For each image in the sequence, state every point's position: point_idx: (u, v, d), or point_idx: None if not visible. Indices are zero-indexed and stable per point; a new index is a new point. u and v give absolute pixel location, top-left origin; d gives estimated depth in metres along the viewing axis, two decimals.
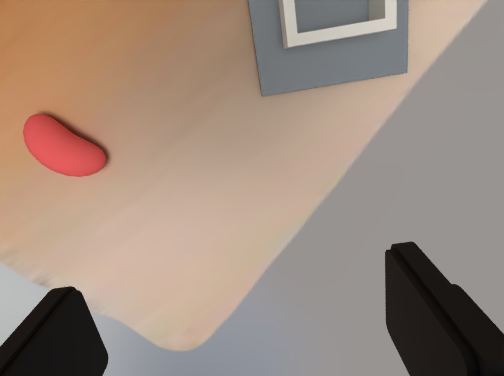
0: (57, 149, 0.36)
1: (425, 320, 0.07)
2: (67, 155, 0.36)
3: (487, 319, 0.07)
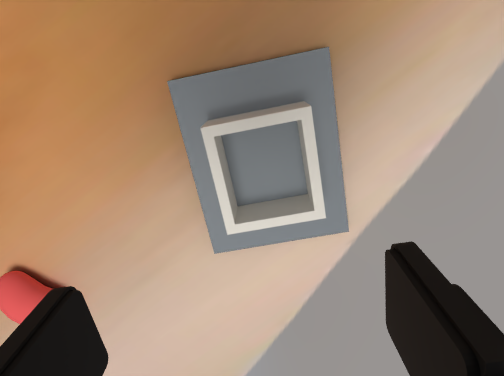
0: (25, 310, 0.38)
1: (425, 320, 0.07)
2: None
3: (487, 319, 0.07)
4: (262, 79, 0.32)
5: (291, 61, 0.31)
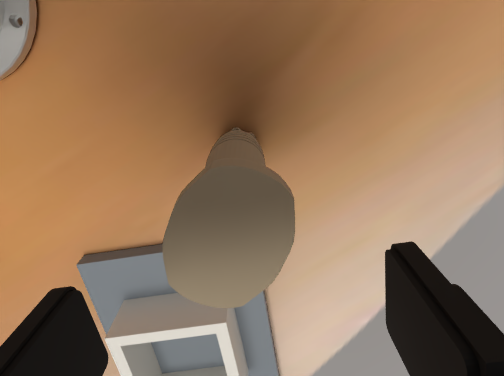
0: None
1: (425, 320, 0.07)
2: None
3: (487, 319, 0.07)
4: None
5: None
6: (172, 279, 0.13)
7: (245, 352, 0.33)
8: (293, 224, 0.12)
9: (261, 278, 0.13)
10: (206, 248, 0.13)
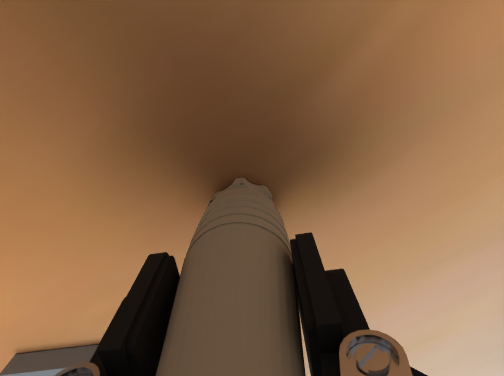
0: None
1: (300, 297, 0.08)
2: None
3: (353, 296, 0.08)
4: None
5: None
6: None
7: None
8: None
9: None
10: None
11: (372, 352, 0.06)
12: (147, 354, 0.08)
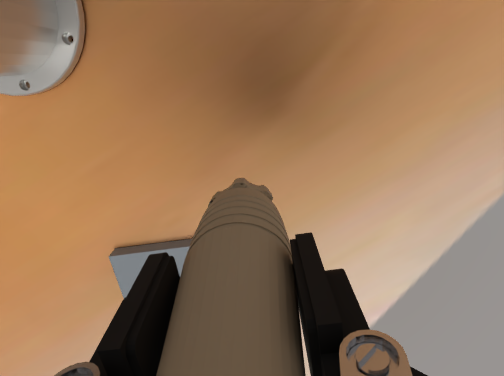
0: None
1: (300, 297, 0.08)
2: None
3: (353, 296, 0.08)
4: None
5: None
6: None
7: None
8: None
9: None
10: None
11: (372, 352, 0.06)
12: (147, 354, 0.08)
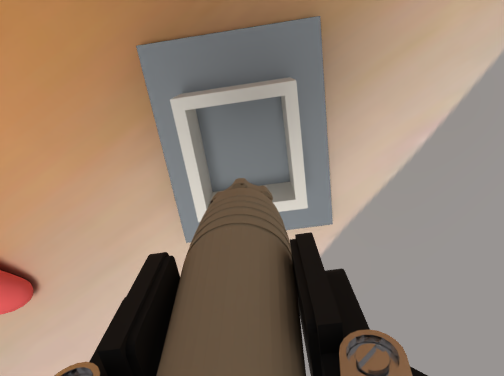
0: None
1: (300, 297, 0.08)
2: None
3: (353, 296, 0.08)
4: (244, 49, 0.28)
5: (277, 30, 0.28)
6: None
7: None
8: None
9: None
10: None
11: (372, 352, 0.06)
12: (147, 354, 0.08)
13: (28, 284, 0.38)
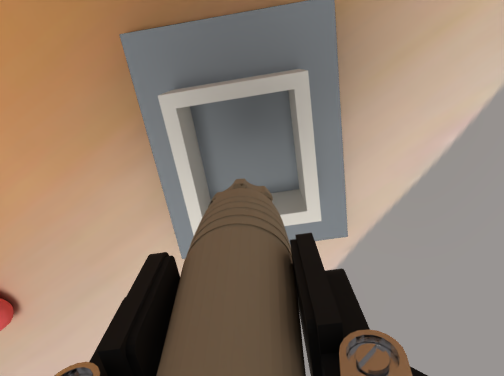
0: None
1: (300, 297, 0.08)
2: None
3: (353, 296, 0.08)
4: (246, 36, 0.24)
5: (284, 14, 0.24)
6: None
7: None
8: None
9: None
10: None
11: (372, 352, 0.06)
12: (147, 354, 0.08)
13: (7, 305, 0.34)
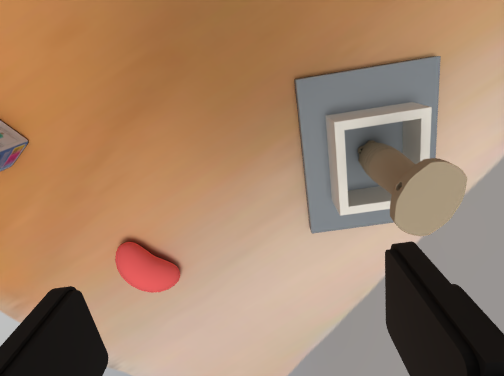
0: (146, 276, 0.43)
1: (425, 320, 0.07)
2: (154, 280, 0.43)
3: (487, 319, 0.07)
4: (379, 81, 0.37)
5: (406, 67, 0.36)
6: (397, 219, 0.26)
7: None
8: (464, 190, 0.25)
9: (442, 219, 0.26)
10: (418, 202, 0.26)
11: None
12: None
13: (177, 267, 0.47)
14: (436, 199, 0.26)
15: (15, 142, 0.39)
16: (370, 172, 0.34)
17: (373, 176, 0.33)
